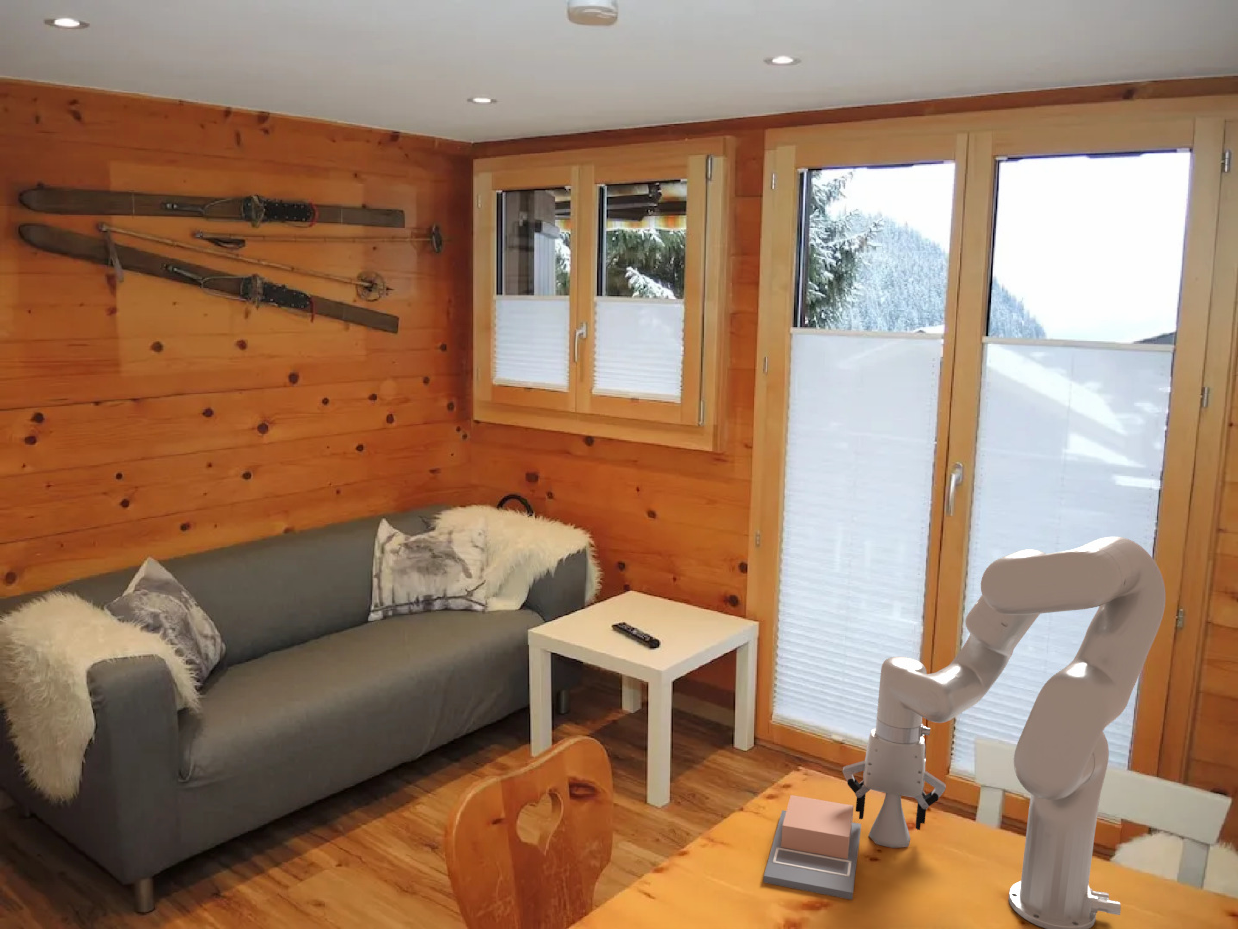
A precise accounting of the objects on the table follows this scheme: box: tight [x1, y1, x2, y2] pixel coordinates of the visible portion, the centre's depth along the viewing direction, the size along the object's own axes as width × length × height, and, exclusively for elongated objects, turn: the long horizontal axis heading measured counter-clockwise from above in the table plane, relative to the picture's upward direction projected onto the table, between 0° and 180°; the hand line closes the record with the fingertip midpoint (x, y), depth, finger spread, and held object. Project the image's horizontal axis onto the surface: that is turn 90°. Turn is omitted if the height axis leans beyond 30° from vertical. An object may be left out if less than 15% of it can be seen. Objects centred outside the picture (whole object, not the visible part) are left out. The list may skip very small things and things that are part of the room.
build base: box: [763, 794, 862, 900], centre depth 172 cm, size 14×22×5 cm, turn 163°
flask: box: [868, 793, 911, 849], centre depth 177 cm, size 7×7×10 cm
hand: (889, 820), depth 178 cm, fingers open, 9 cm apart
